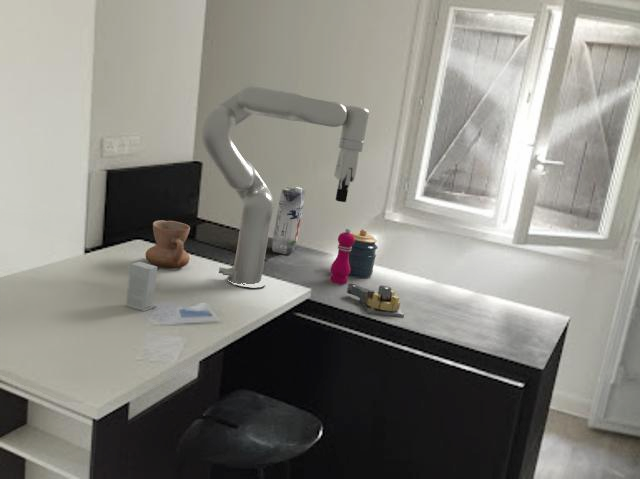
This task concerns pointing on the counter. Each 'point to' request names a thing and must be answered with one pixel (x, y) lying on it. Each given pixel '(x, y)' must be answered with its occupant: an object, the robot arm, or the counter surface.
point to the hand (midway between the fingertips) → (340, 201)
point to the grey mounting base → (385, 296)
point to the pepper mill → (342, 258)
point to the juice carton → (288, 220)
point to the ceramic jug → (169, 245)
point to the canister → (362, 255)
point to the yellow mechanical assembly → (374, 298)
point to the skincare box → (141, 286)
